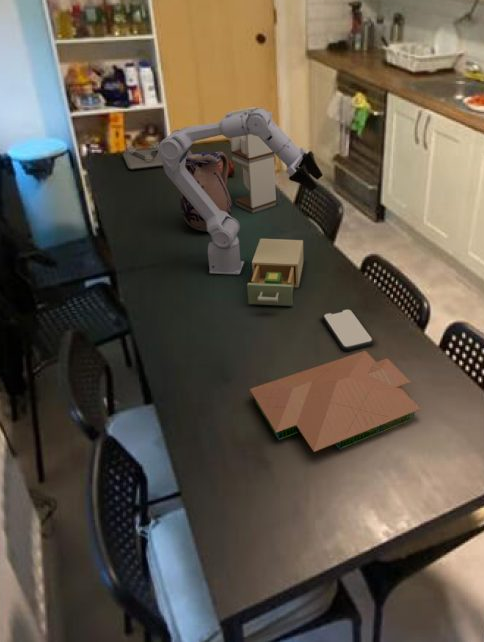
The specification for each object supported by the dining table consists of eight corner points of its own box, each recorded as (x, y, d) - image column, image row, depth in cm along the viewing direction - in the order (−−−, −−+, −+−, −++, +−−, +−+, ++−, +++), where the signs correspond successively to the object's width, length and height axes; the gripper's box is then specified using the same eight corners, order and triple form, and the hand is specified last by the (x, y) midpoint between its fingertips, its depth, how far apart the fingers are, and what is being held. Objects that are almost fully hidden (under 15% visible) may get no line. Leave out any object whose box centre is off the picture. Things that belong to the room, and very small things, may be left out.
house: (429, 415, 124) (433, 387, 120) (293, 471, 110) (292, 442, 106) (374, 357, 141) (376, 331, 136) (250, 399, 127) (247, 372, 123)
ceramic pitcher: (173, 231, 197) (162, 162, 184) (206, 209, 214) (199, 144, 200) (216, 241, 192) (208, 170, 178) (247, 217, 208) (242, 151, 195)
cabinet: (298, 287, 168) (298, 264, 164) (253, 285, 168) (251, 262, 164) (303, 262, 181) (303, 240, 176) (261, 260, 181) (260, 238, 177)
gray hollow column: (259, 197, 225) (254, 107, 206) (276, 205, 219) (272, 113, 199) (235, 204, 218) (228, 112, 199) (252, 213, 212) (246, 118, 193)
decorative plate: (129, 172, 245) (126, 156, 241) (122, 156, 261) (119, 141, 257) (198, 163, 256) (196, 148, 252) (187, 149, 272) (185, 134, 268)
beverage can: (236, 177, 242) (235, 162, 238) (209, 181, 237) (207, 166, 234) (231, 172, 247) (230, 157, 244) (204, 176, 243) (203, 161, 239)
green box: (279, 295, 160) (279, 282, 158) (264, 294, 161) (263, 282, 158) (282, 283, 166) (282, 270, 164) (267, 282, 166) (267, 270, 164)
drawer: (290, 313, 155) (289, 294, 151) (245, 311, 155) (244, 292, 152) (297, 279, 170) (297, 261, 167) (257, 277, 170) (255, 259, 167)
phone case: (375, 345, 145) (350, 312, 157) (375, 341, 144) (350, 307, 156) (343, 353, 142) (320, 318, 154) (343, 348, 141) (320, 314, 154)
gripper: (286, 147, 146) (322, 185, 150) (298, 128, 157) (332, 164, 162) (268, 164, 149) (304, 200, 154) (282, 144, 161) (315, 178, 165)
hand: (317, 182), depth 158 cm, fingers open, 7 cm apart
